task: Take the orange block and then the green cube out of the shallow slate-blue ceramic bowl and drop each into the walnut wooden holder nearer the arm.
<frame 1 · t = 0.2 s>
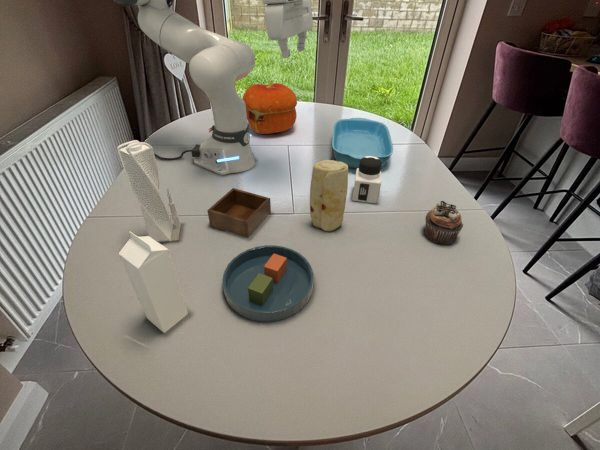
hand: (294, 53, 91), 39 cm above the table, tool pointing down, fingers open, 8 cm apart
orange block: (275, 273, 79), point 1 cm above the table, touching bowl
casserole dish: (359, 152, 132), on the table
container: (365, 196, 107), on the table
bowl: (269, 285, 77), on the table
holder: (241, 219, 96), on the table
pumpkin: (271, 129, 148), on the table
green cube: (261, 294, 74), point 1 cm above the table, touching bowl
cupcake: (439, 235, 93), on the table
food model: (325, 226, 95), on the table
skyscraper: (164, 236, 90), on the table
milk: (168, 317, 70), on the table
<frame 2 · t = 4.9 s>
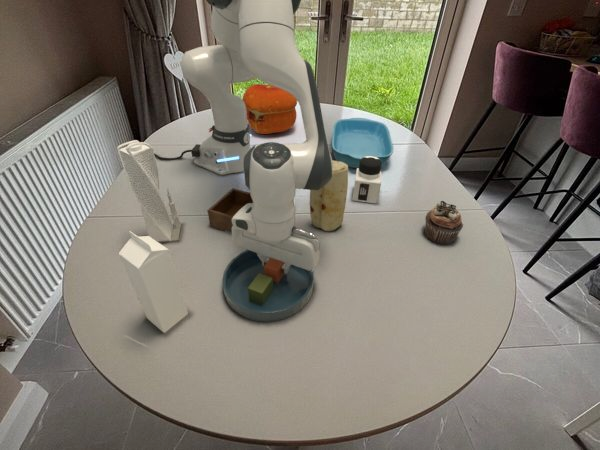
hand: (275, 268, 78), 3 cm above the table, tool pointing down, fingers closed on orange block, 3 cm apart
orange block: (275, 273, 79), point 1 cm above the table, touching bowl, gripper
everything else where it was.
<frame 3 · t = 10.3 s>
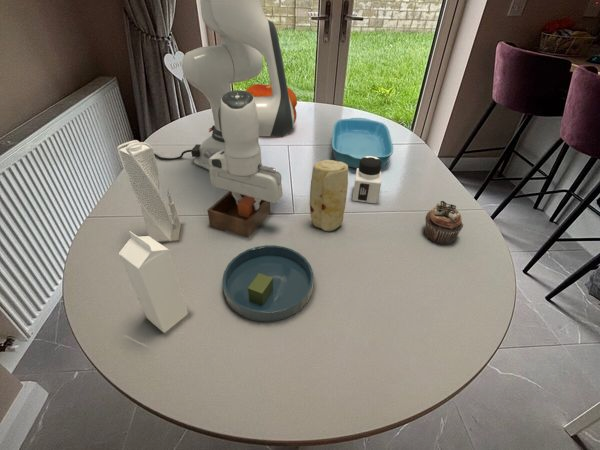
hand: (248, 206, 92), 6 cm above the table, tool pointing down, fingers closed on orange block, 3 cm apart
orange block: (248, 212, 93), point 4 cm above the table, touching gripper
everything else where it was.
when the fingers open (6 cm above the table, at t = 21.8 s): orange block drops 3 cm, resting on holder.
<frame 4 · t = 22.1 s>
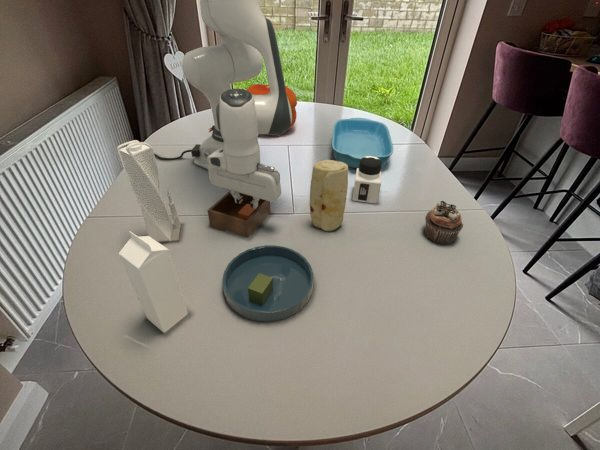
hand: (246, 205, 91), 6 cm above the table, tool pointing down, fingers open, 3 cm apart
orange block: (249, 220, 95), point 1 cm above the table, touching holder
everything else where it was.
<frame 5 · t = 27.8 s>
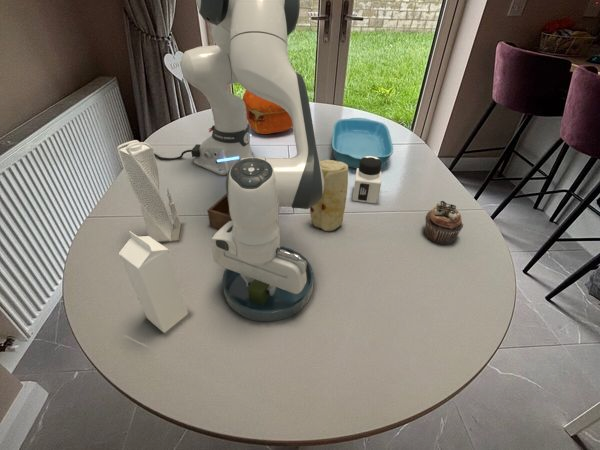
hand: (260, 289, 73), 3 cm above the table, tool pointing down, fingers closed on green cube, 3 cm apart
green cube: (261, 295, 74), point 1 cm above the table, touching bowl, gripper
everything else where it was.
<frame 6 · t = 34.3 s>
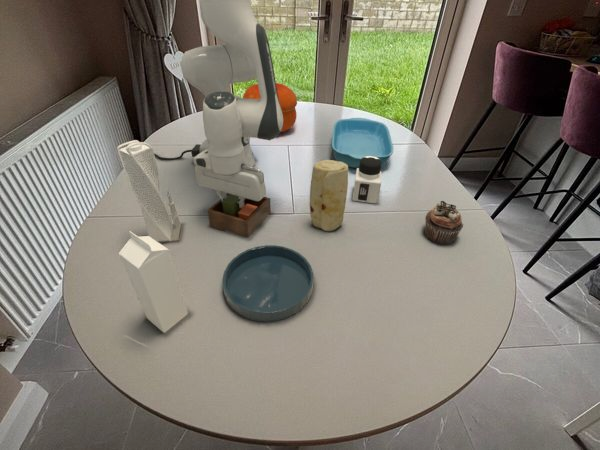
hand: (233, 204, 94), 5 cm above the table, tool pointing down, fingers closed on green cube, 3 cm apart
green cube: (233, 210, 95), point 3 cm above the table, touching gripper
everything else where it was.
when the fingers open (5 cm above the table, at t = 34.3 s): green cube drops 2 cm, resting on holder.
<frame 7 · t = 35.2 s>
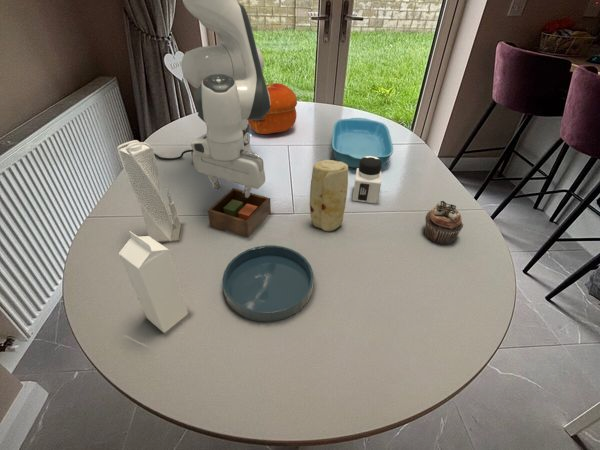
hand: (231, 191, 92), 8 cm above the table, tool pointing down, fingers open, 8 cm apart
green cube: (234, 216, 96), point 1 cm above the table, touching holder
everything else where it was.
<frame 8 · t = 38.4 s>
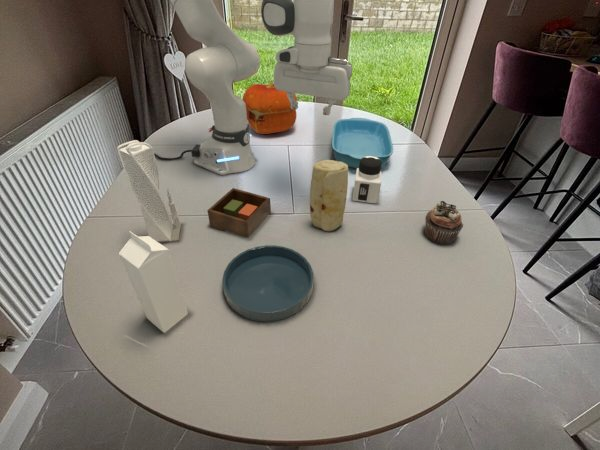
hand: (310, 111, 90), 27 cm above the table, tool pointing down, fingers open, 8 cm apart
nothing on the table moved.
at the end: orange block inside the target area in the holder (2.6 cm from its centre), point 0.6 cm above the holder's base; green cube inside the target area in the holder (2.2 cm from its centre), point 0.6 cm above the holder's base; the gripper is holding nothing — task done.
